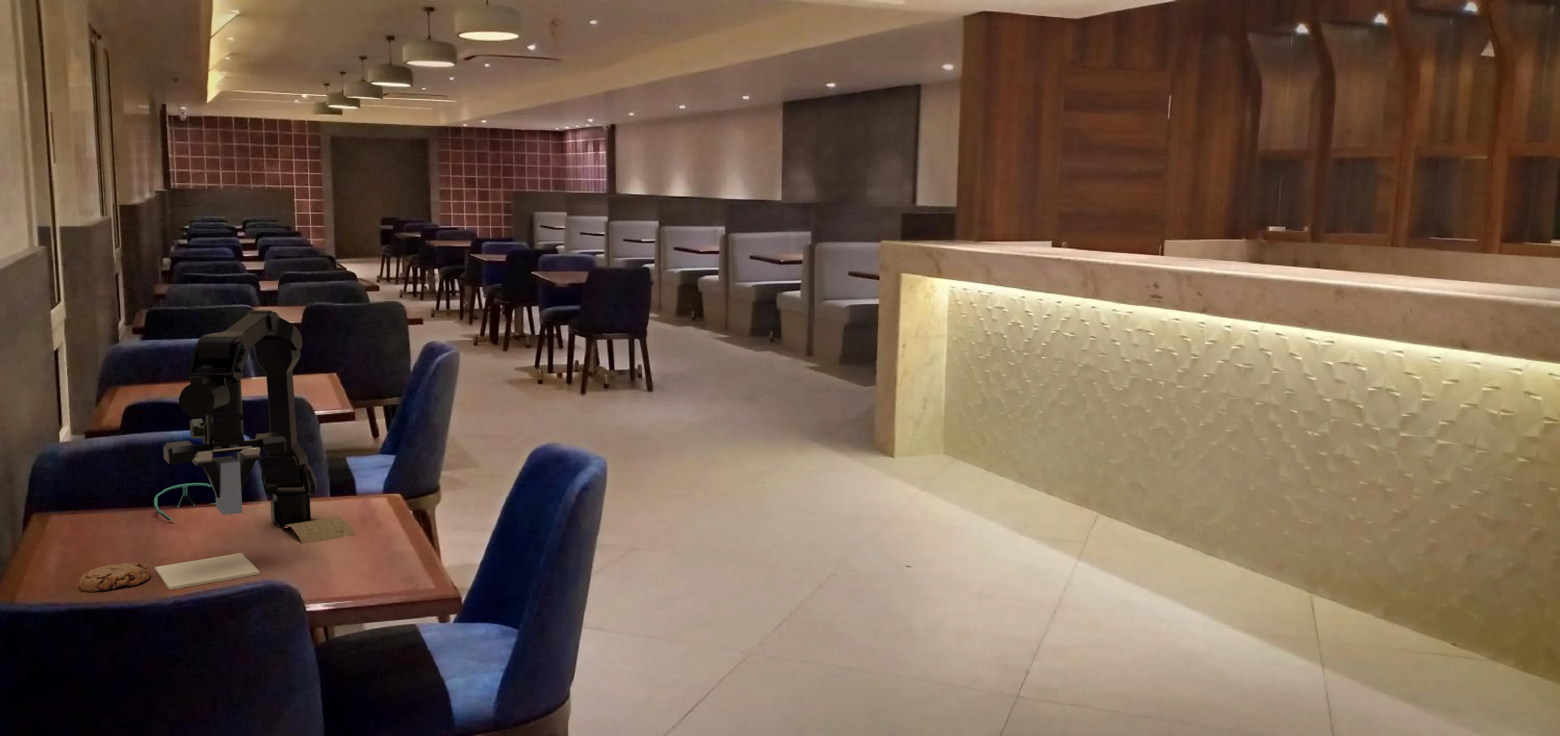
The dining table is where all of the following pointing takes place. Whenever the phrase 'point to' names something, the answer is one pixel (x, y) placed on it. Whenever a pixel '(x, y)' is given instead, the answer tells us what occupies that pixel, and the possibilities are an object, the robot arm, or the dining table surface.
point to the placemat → (206, 571)
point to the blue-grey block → (229, 485)
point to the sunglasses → (181, 497)
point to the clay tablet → (322, 529)
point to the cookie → (114, 576)
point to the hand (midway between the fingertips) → (228, 496)
